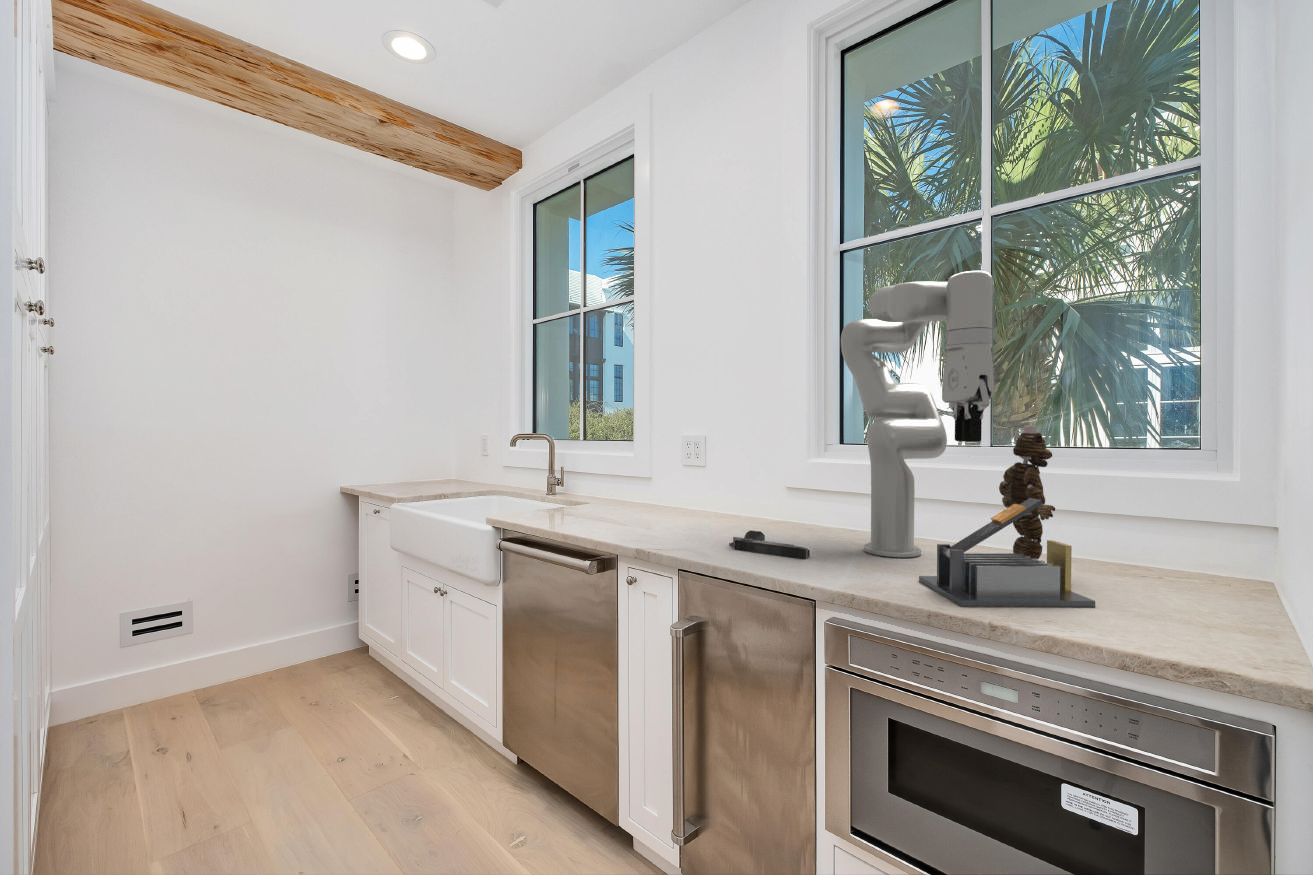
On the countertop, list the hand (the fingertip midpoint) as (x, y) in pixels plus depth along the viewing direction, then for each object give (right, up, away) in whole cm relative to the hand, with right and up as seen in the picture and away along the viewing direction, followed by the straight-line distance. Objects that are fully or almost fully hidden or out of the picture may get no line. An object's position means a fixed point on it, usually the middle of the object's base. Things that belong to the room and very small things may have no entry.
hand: (967, 440), depth 109 cm
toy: (+19, -27, +12) cm, 35 cm away
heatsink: (+4, -27, -4) cm, 28 cm away
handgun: (-29, -27, +34) cm, 52 cm away
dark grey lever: (+3, -16, -4) cm, 17 cm away
